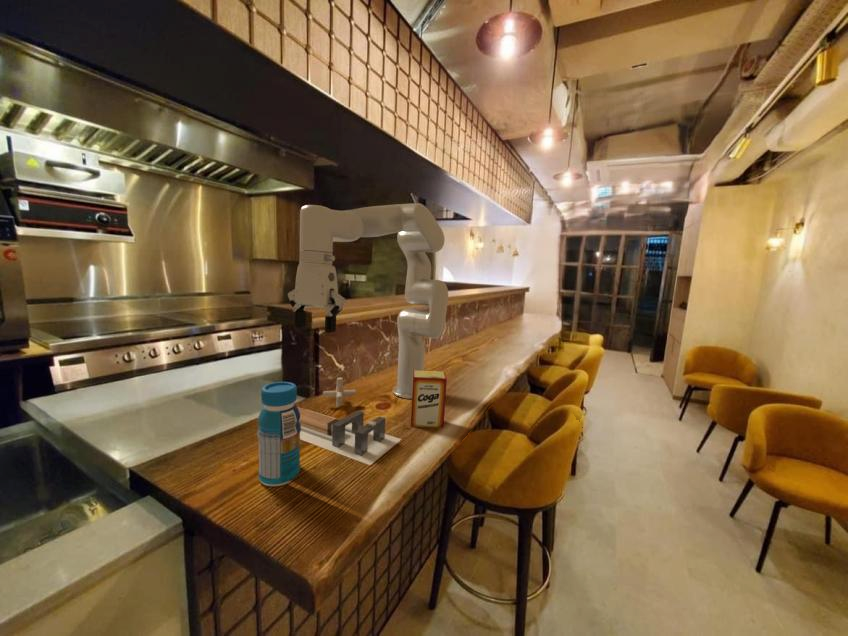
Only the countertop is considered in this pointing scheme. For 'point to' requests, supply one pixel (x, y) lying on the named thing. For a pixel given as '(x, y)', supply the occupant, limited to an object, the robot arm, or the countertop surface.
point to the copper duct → (316, 421)
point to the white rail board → (350, 444)
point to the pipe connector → (339, 392)
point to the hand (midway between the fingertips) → (315, 329)
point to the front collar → (362, 434)
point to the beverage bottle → (279, 434)
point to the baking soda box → (428, 398)
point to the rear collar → (339, 427)
